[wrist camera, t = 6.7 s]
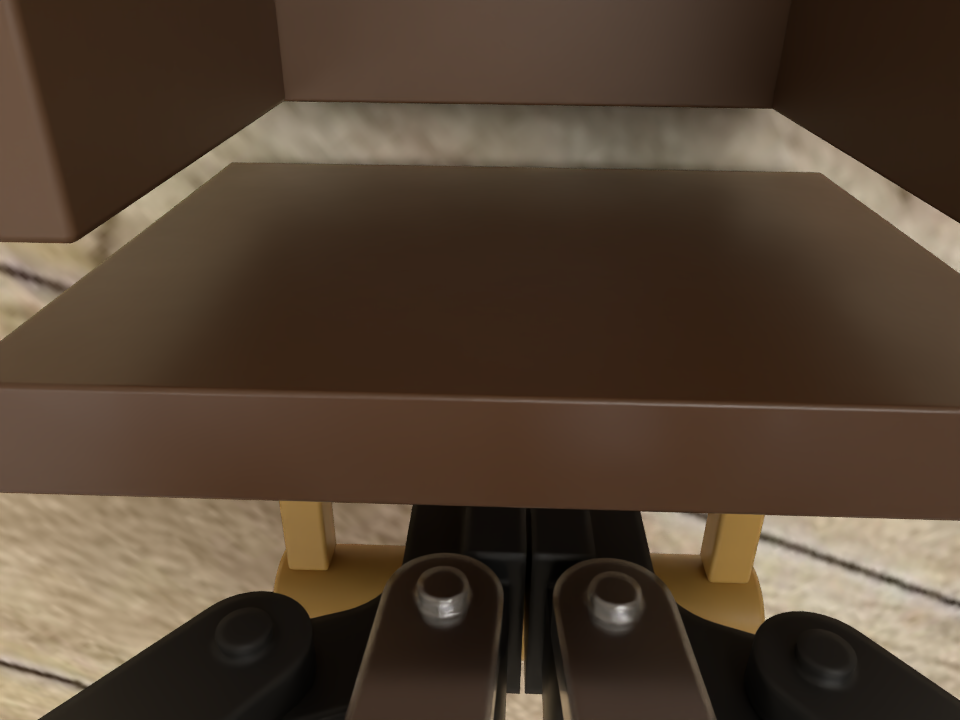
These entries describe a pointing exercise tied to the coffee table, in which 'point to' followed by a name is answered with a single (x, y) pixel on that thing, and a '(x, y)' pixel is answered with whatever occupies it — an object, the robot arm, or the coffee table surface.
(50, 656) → the coffee table surface
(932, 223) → the coffee table surface
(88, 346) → the drawer
